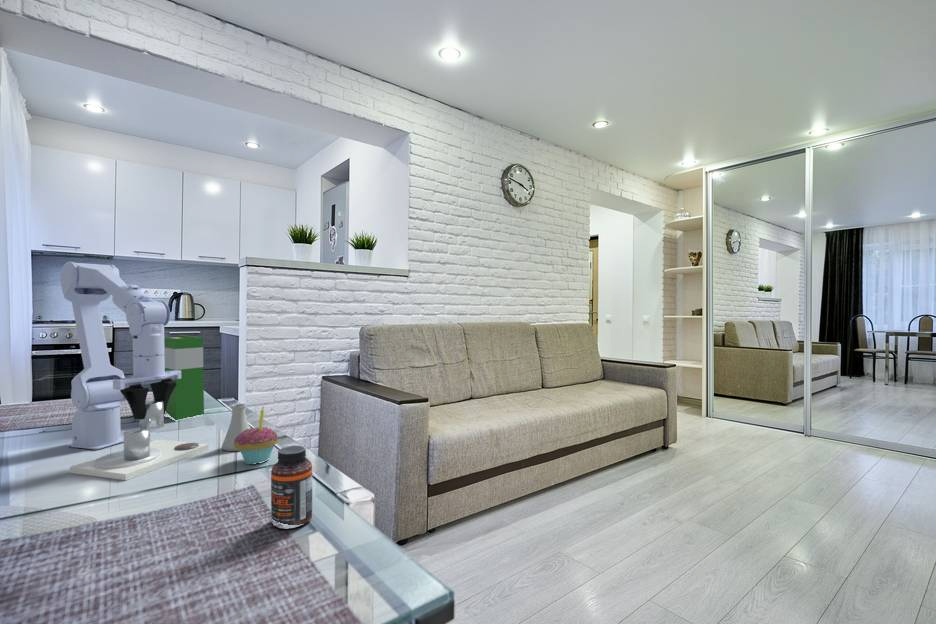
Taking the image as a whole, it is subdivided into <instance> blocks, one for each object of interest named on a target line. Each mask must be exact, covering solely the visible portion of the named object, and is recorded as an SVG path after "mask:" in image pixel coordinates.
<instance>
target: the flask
mask: <svg viewBox="0 0 936 624" xmlns="http://www.w3.org/2000/svg"><path fill="white" fill-rule="evenodd" d="M247 406H248V404H246V403H235V404H232V405H230V409H231V419H230V424H229V426H228V428H227V433H226V435H225V438H224V440H223V443H222V445H221V447H220V450H224V451H228V452H231V451H232V452H235V451H240V450H239V449H237V448H235V447H234V440H235V439H236V437H237V436H238V435H239V434H241V433H242V432H243V431H245V430H246V429H250V428H251V427H250V423H249V421H248V418H247V414H246V408H247Z"/></svg>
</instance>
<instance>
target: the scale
mask: <svg viewBox="0 0 936 624" xmlns="http://www.w3.org/2000/svg"><path fill="white" fill-rule="evenodd" d="M208 450H209V444H208V443H199V442H188V441H187V442H186V441H180V440H179V441H178V440H170V439H169V440H168V439H160V438H159V439H155V440H152V441H150V456H149V457H147V458H145V459H141V460H136V461H125V460H124V449H123V450H119V451H115V452H112V453H108V454H105V455H103V456H100V457H97V458H94V459H90V460H87V461H84V462H81V463H77V464H74V465H71V466H69V473H71V474H77V475H83V476H84V475H85V476H92V477H97V478H98V477H99V478H106V479H112V480H120V481H128V480H131V479H135V478H136V477H140V476H141V475H144V474H147V473H149V472H152V471H156V470H157V469H160V468H162V467H166V466H168V465H171V464H174V463H176V462H178V461H181V460H184V459H187V458H189V457H192V456H195V455H197V454H200V453H204V452H205V451H208Z"/></svg>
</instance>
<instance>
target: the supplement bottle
mask: <svg viewBox="0 0 936 624" xmlns="http://www.w3.org/2000/svg"><path fill="white" fill-rule="evenodd" d="M306 450H307V449H306V447H305V446H303V445H288V446H285V447H282V448H280V449H278V451H277V462H276V463H274V465H273V466H272V467H271V471H270V480H271V481H270V491H271V492H270V496H271V497H270V500H271V501H270V503H271V505H270V507H271V509H270V513H271V516H270V517H271V518H272V519H273V520H275V521H277V522H280V523H283V524H288V525H300V524H305V523H307V522H308V521H309V520H310V519H311V520H312V518H313V465H312V462H311V461H310V460H309V459H308V458H307V457H306V456H307V453H306V452H307V451H306ZM271 518H270V519H271ZM272 519H271V520H272ZM311 520H310V521H311ZM310 521H309V522H310ZM309 522H308V523H309ZM308 523H307V524H308ZM305 525H306V524H305Z"/></svg>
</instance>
